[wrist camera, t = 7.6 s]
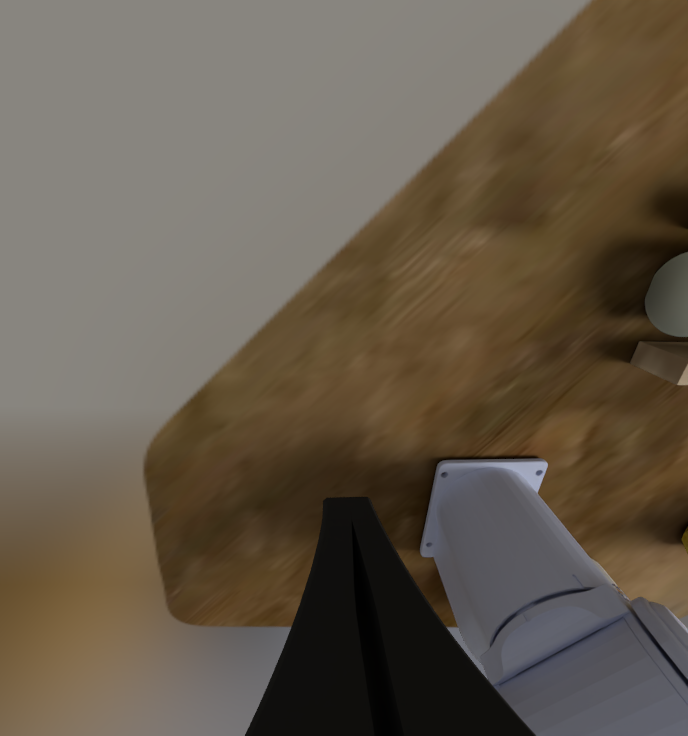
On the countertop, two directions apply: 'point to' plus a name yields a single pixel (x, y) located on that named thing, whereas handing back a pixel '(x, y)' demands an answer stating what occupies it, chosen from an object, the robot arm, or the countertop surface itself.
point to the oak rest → (663, 360)
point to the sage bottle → (670, 297)
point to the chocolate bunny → (685, 539)
